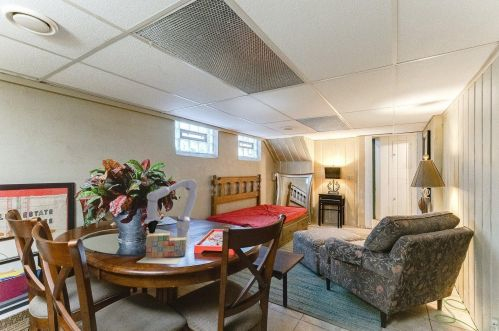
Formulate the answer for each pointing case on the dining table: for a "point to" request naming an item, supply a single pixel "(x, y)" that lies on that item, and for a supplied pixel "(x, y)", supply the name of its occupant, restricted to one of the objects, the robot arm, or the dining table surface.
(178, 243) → the stack of blocks
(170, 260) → the mat
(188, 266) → the dining table surface
